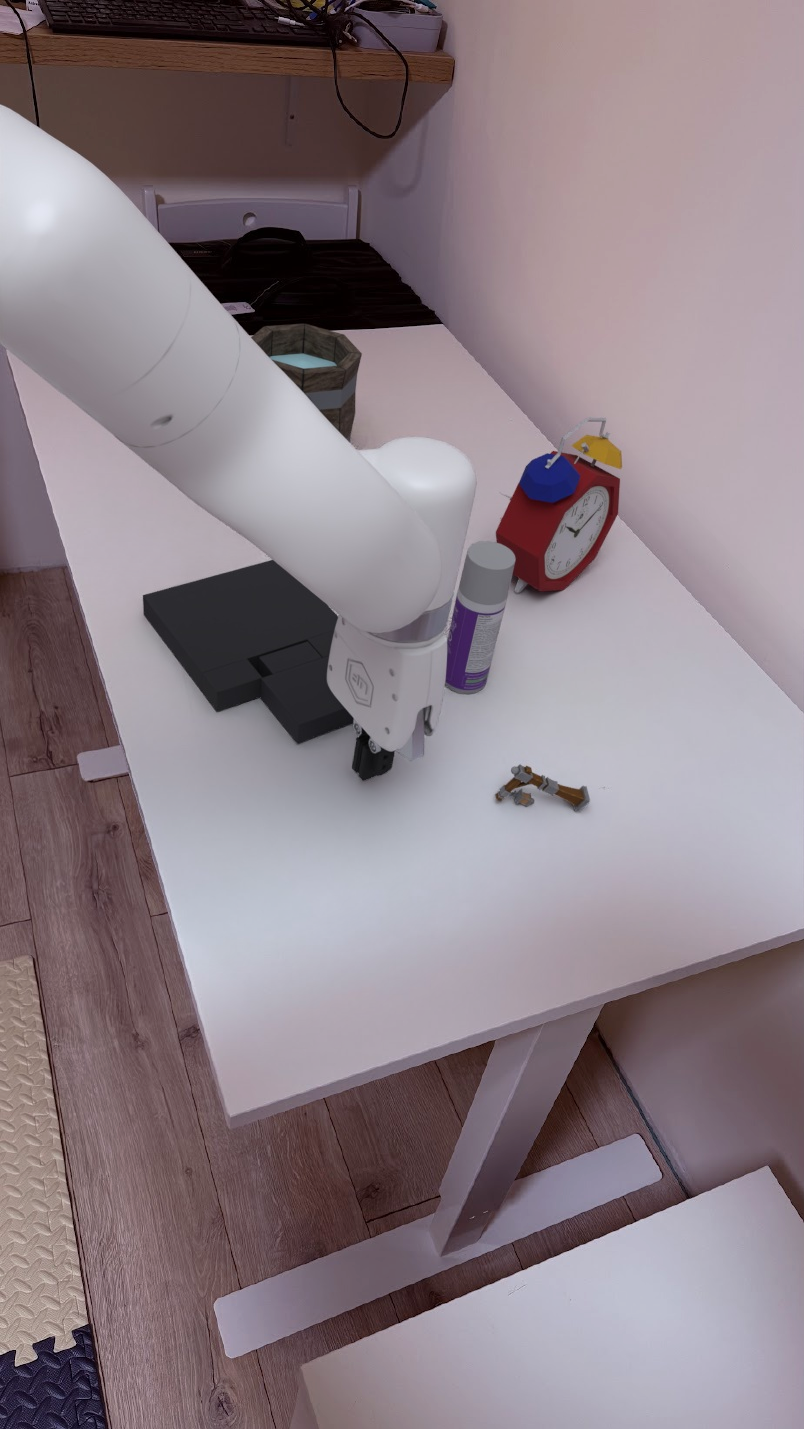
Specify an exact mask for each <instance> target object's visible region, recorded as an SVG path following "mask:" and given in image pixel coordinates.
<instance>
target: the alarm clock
mask: <svg viewBox="0 0 804 1429" xmlns="http://www.w3.org/2000/svg"><path fill="white" fill-rule="evenodd" d="M588 422H590V423H591V422H597V423H598V422H599V423H601V425H600V429H599V433H598V435H599V436H597V435H591V434H585V435H584V436H583V437H580V438H579V439H578V440H577V441H576V442H574V443H572V444H571V445H570V447H572V448H574V449H575V450H577V451H578V452H580V453H579V455H578V454H573V453H566V452H562V451H563V447H564V445H565V441H566V439H568V438H569V437H570V436H571V435H573V434H574V433H575V432H576V431H578V430H579V429H580V428H581V427H582V426H584V425H585V424H587V423H588ZM606 423H607V417H586V418H584V419H583V420H582V421H581V422H579V423H578V424H576V426H574V427H573V428H572V429H571V430H569V431H568V432H567V433H566V434H564V435H563V436H562V437H561V439H560V442H559V446H558V449H557V450H552V451H551V452H549V453H548V452H547V453H545V454H542V455H540V456H537V457H536V458H533V459H531V461H529V462H528V463H527V465H525V466H524V469H523V472H522V474H521V477H520V479H519V481H518V483H517V485H516V488H515V490H514V491H513V494H512V496H509V495H507V494H504V493H502V492H500V494H501V495H502V496H504V497H506V498H508V499H509V502H508V504H507V507H506V509H505V511H504V513H503V516H502V517H500V518H499V520H500V521H499V524H498V526H497V529H496V530H495V540H496V541H495V542H496V543H499V544H502V545H504V546H506V547H507V548H509V549H510V550H511V551H512V552H513V553H514V555H515V559H516V560H515V565H514V569H513V574H512V575H514V576H515V577H517V578H518V580H517V583H516V584H515V588H514V592H515V594H520V593H521V592H522V591H523V590H524V589H525V588H526V587H527V586H528V585H529V586H531V587H533V588H534V589H536V590H538V591H539V592H553V591H565V589H566V588H568V587H569V585H571V583H572V582H574V580H575V579H576V578H577V577H578V576H579V575H581V573H582V572H584V570H585V569H587V567H588V566H590V564H591V563H592V562H594V560H595V559H596V558H597V555H598V554H599V552H600V550H601V548H602V546H603V544H604V542H605V541H606V538H607V537H608V534H609V533H610V530H611V528H612V527H613V525H614V523H615V521H616V519H617V517H618V515H619V504H620V490H621V489H620V488H621V478H619V476H615V475H614V474H612V473H611V472H609V471H607V470H606V469H603V468H601V467H599V466H598V465H596V463H597V461H598V462H599V463H602V464H604V465H607V466H609V467H612V468H615V469H618V470H622V468H623V458H622V450H620V448H618V447H617V446H616V445H615V444H614V443H612V442H611V441H610V439H609V437H610V435H611V433H610V432H609V431H606V433H605V434H604V431H605V427H606ZM582 455H585V456H587V457H589V458H591V459H592V461H591V462H590V461H588V460H586V459H585V458H583V457H581V456H582Z"/></svg>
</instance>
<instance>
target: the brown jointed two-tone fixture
mask: <svg viewBox="0 0 804 1429" xmlns="http://www.w3.org/2000/svg"><path fill="white" fill-rule="evenodd" d="M510 772H511V774H512V775H513V777H512V778H511V779H510V780H509V781H508V782H507V783H505V784H503V785H502V786H501V787H500V788H499V790H498V791H497V792H496V793H495V795H494V796H495V800H496V801H499V802H502V801H503V800H504V799H505V798H508V797H509V796H511V798H512V799H514V800H515V805H518V804H521V805H523V806H525V808H527V807H528V806H529V805H533V804H534V803H535V798H533V797H532V793H531V792H525V791H523V787H525V786H530V785H533V786H534V787H536V788H537V790H538V791H541V792H543V793H546V794H548V795H550V796H554V795H555V796H556V797H559V798H561V799H563V800H564V801H567V802H568V803H570V804H571V805H573V810H574V812H577V813H579V812H580V811H581V810H583V808H584V807H586V806H587V805H588V804H589V803H590V802H591V799H590V794H589V791H588V790H589V789H588V787H587V785H581V786H580V787H579V788H575V787H571V786H567V785H562V784H560V783H558V781H557V780H554V779H551V778H550V777H549V776H546V775H543V774H542V775H539V774H537V773H535V772H533V769H532V767H531V766H529V765H525V766H524V765H522V764H521V763H520V764H518V765H517V766H512V767H511V769H510ZM518 788H520V789H519V790H518V791H516V789H518Z"/></svg>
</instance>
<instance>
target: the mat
mask: <svg viewBox="0 0 804 1429" xmlns="http://www.w3.org/2000/svg"><path fill="white" fill-rule="evenodd" d="M142 609H143V610H142V611H143V616H144V617H145V618H146V620H147V621H148V622H149V624H150V625H151V627H152V628H153V630H154V631H156V633H157V634H158V636H159V637H160V638H161V640H162V641H163V642H164V644H165V645H166V646H167V648H168V650H169V651H170V652H171V653H172V655H173V656H174V657H175V658H176V660H177V661H178V662H179V664H180V665H181V666H182V668H183V669H184V670H185V672H186V673H187V674H188V676H189V677H190V678H191V680H192V681H193V683H194V684H195V685H196V686H197V688H198V689H199V691H200V692H201V693H202V694H203V696H204V697H205V699H206V700H207V701H208V703H209V704H210V705H211V707H212V708H213V709H214V711H215V712H216V713H219V712H221V711H224V710H228V709H231V708H233V707H236V706H239V705H242V704H245V703H247V702H250V701H251V702H252V701H254V700H256V699H260V690H261V678H262V677H261V675H260V674H259V673H258V672H259V657H261V656H264V655H267V654H270V653H274V652H277V651H280V650H283V649H286V648H289V647H292V646H295V645H298V644H301V643H305V642H309V643H310V645H311V646H312V647H313V648H314V649H315V650H316V651H317V653H318V654H319V655H320V656H321V657H322V658H323V657H326V656H329V655H330V649H331V644H332V639H333V635H334V631H335V627H336V623H337V620H338V616H339V615H337V613H336V612H335V611H334V610H333V609H332V608H331V607H329V606H328V605H327V604H326V603H325V602H323V601H322V600H321V599H320V598H318V597H317V596H316V595H315V594H314V593H312V592H311V591H310V590H309V589H308V588H306V587H305V586H304V585H303V584H302V583H300V582H299V581H298V580H297V579H295V578H294V577H293V576H292V575H291V574H289V573H288V572H287V571H286V570H285V569H283V568H282V567H281V566H280V565H279V564H277V563H276V562H275V561H274V560H272V559H270V560H267V561H263V562H259V563H255V564H252V565H248V566H245V567H241V568H238V569H234V570H229V571H226V572H222V573H219V574H215V575H211V576H208V577H204V578H200V579H196V580H193V581H190V582H186V583H182V584H179V585H178V584H177V585H175V586H171V587H167V588H164V589H160V590H156V591H153V592H150V593H149V592H148V593H146V594H142Z"/></svg>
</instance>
